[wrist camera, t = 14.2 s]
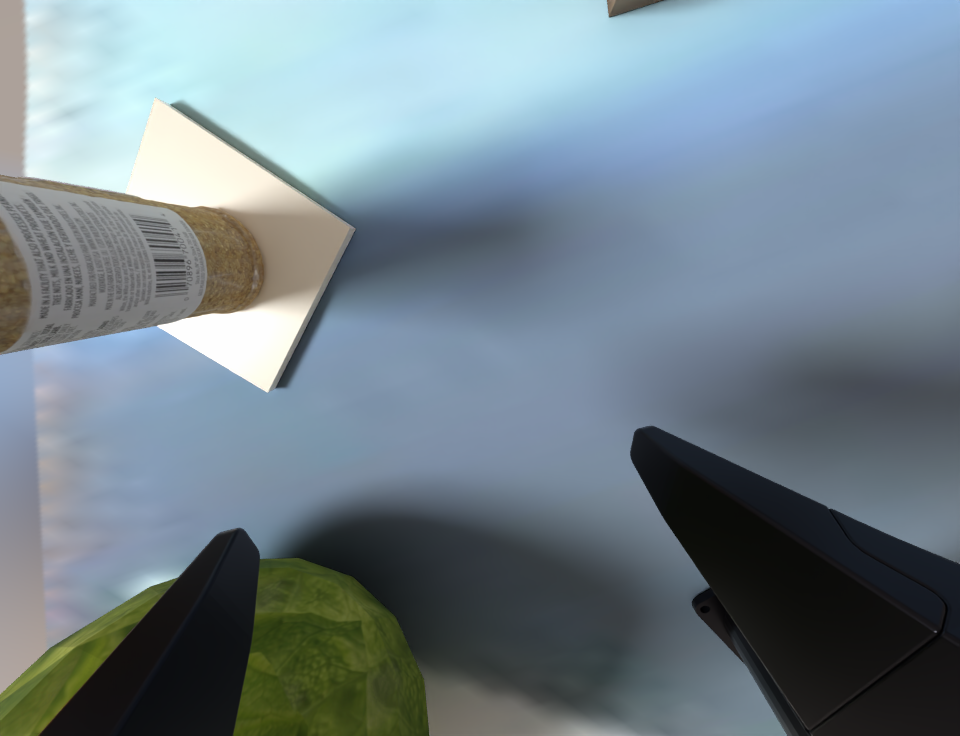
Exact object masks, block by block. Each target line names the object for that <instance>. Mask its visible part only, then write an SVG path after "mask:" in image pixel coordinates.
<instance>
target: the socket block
mask: <svg viewBox="0 0 960 736" xmlns="http://www.w3.org/2000/svg"><path fill="white" fill-rule="evenodd" d="M659 1H662V0H607V4H608V13H609V17H611V16H615V15H618V14H621V13H624V12H627V11H631V10H634V9H637V8H640V7H643V6H646V5H650V4H653V3H656V2H659Z"/></svg>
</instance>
